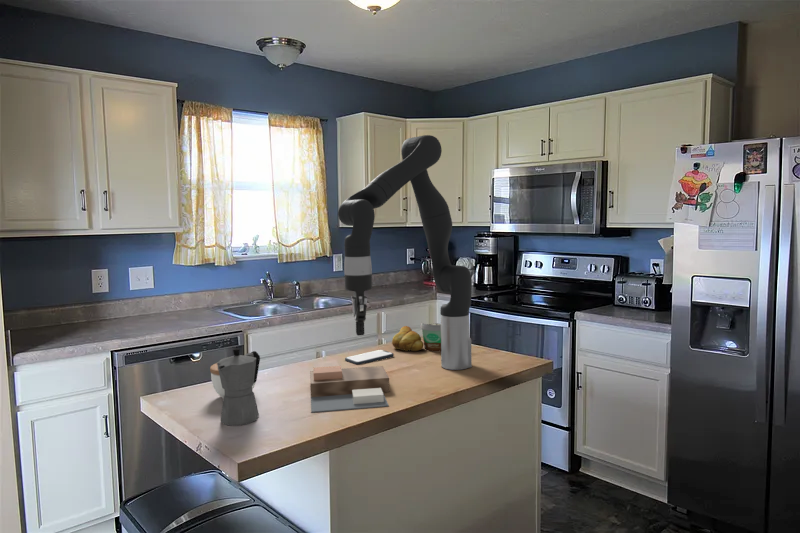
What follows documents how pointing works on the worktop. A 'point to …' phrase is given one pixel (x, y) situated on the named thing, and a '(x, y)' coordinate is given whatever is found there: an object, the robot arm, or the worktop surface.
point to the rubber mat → (340, 403)
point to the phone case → (369, 357)
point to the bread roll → (407, 340)
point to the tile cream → (367, 395)
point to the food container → (431, 336)
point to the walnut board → (351, 381)
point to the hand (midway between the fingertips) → (360, 334)
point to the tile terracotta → (327, 372)
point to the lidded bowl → (218, 380)
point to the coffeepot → (239, 388)
